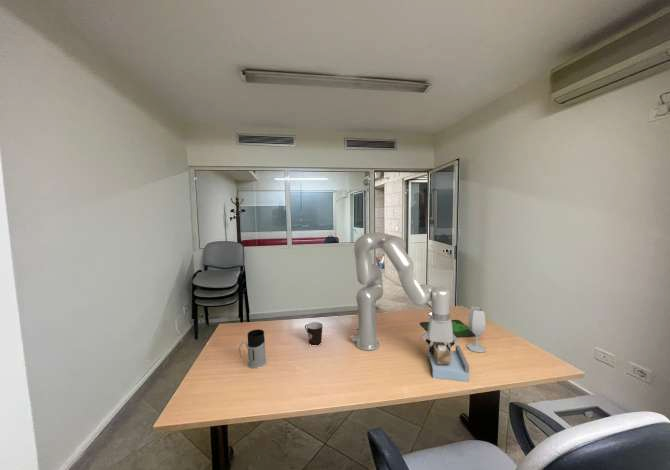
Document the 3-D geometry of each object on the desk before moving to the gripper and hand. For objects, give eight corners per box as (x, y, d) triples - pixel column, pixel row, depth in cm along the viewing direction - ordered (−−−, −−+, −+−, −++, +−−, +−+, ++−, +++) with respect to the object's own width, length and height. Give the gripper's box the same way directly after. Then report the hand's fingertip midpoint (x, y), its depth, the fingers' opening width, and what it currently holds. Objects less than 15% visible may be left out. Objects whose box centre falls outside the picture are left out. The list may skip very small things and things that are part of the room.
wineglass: (488, 353, 130) (490, 312, 128) (469, 352, 131) (470, 311, 129) (482, 345, 138) (483, 306, 136) (464, 343, 140) (465, 305, 138)
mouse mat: (433, 340, 145) (433, 338, 145) (417, 323, 167) (417, 321, 167) (480, 336, 148) (480, 335, 148) (458, 320, 169) (458, 319, 169)
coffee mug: (325, 345, 141) (324, 327, 140) (309, 348, 138) (309, 330, 137) (318, 335, 152) (318, 319, 151) (304, 338, 149) (303, 321, 148)
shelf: (433, 378, 112) (433, 362, 111) (427, 356, 128) (428, 342, 128) (468, 382, 109) (469, 366, 108) (458, 359, 125) (459, 345, 125)
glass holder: (270, 360, 127) (269, 331, 126) (247, 377, 115) (245, 344, 114) (257, 356, 132) (256, 327, 130) (234, 371, 120) (232, 339, 118)
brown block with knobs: (437, 364, 113) (437, 349, 112) (429, 349, 125) (429, 336, 124) (450, 364, 113) (451, 349, 112) (441, 349, 125) (441, 336, 124)
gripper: (420, 317, 115) (420, 356, 117) (463, 320, 112) (462, 360, 113) (419, 311, 123) (418, 348, 124) (459, 313, 119) (458, 351, 121)
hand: (439, 353), depth 119 cm, fingers closed on brown block with knobs, 5 cm apart
